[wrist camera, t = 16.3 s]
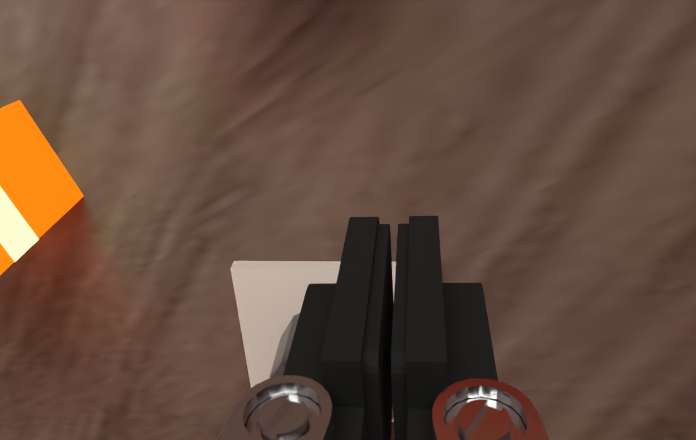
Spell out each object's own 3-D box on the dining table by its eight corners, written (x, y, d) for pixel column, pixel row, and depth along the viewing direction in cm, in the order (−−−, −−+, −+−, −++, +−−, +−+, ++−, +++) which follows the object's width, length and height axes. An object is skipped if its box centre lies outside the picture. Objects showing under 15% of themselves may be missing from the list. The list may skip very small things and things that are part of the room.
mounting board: (440, 261, 42) (440, 269, 41) (435, 413, 49) (436, 422, 48) (234, 260, 44) (230, 268, 43) (258, 408, 51) (256, 417, 50)
